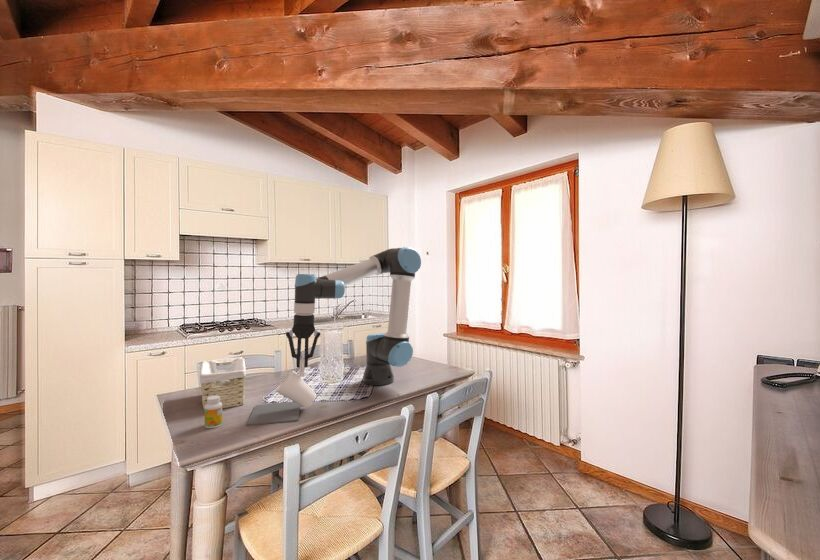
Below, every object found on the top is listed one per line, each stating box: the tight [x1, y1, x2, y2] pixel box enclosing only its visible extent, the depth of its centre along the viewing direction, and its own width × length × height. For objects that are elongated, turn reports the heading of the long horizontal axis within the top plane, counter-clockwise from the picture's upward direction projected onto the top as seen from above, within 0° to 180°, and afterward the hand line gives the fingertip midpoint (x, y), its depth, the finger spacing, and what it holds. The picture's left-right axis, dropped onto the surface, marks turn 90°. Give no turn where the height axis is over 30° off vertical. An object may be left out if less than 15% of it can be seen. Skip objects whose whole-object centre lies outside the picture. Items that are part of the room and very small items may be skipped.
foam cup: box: [275, 370, 317, 409], centre depth 136 cm, size 10×9×13 cm
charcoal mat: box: [246, 401, 301, 427], centre depth 133 cm, size 17×18×1 cm
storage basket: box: [199, 356, 247, 411], centre depth 147 cm, size 24×16×15 cm
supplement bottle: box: [204, 396, 224, 429], centre depth 123 cm, size 5×5×10 cm
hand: (301, 375), depth 136 cm, fingers closed
